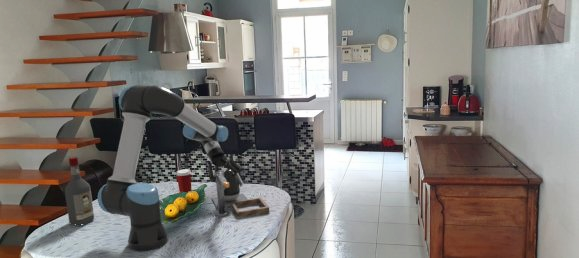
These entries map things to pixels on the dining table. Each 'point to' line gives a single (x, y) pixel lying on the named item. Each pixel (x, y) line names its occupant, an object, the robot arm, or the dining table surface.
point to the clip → (221, 178)
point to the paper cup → (184, 180)
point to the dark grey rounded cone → (231, 186)
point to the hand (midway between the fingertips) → (232, 187)
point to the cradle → (252, 211)
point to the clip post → (220, 200)
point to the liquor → (78, 197)
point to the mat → (228, 203)
